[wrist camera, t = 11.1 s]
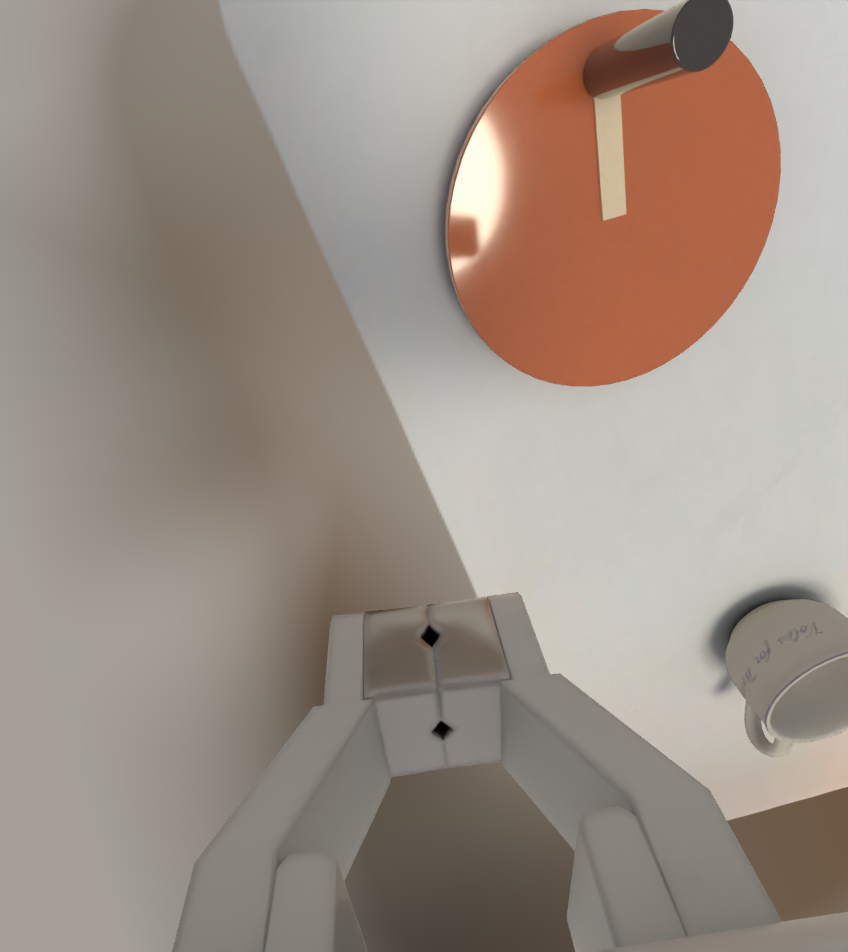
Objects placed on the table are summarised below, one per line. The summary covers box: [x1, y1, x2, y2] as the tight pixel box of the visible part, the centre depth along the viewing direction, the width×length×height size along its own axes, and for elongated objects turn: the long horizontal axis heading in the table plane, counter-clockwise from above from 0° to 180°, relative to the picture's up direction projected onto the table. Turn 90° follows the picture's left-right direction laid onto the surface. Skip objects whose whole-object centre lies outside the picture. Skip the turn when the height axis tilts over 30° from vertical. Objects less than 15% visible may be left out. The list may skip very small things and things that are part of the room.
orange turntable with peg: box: [445, 0, 781, 386], centre depth 24 cm, size 17×17×9 cm
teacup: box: [725, 599, 848, 757], centre depth 45 cm, size 14×11×8 cm
